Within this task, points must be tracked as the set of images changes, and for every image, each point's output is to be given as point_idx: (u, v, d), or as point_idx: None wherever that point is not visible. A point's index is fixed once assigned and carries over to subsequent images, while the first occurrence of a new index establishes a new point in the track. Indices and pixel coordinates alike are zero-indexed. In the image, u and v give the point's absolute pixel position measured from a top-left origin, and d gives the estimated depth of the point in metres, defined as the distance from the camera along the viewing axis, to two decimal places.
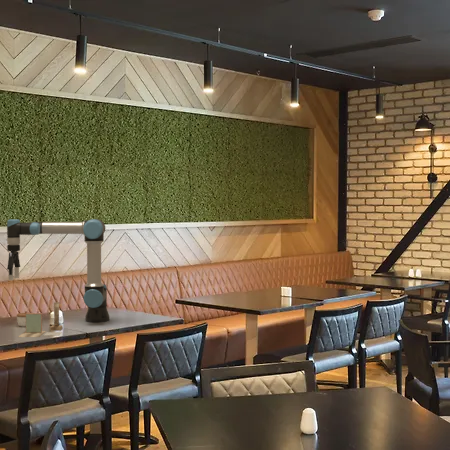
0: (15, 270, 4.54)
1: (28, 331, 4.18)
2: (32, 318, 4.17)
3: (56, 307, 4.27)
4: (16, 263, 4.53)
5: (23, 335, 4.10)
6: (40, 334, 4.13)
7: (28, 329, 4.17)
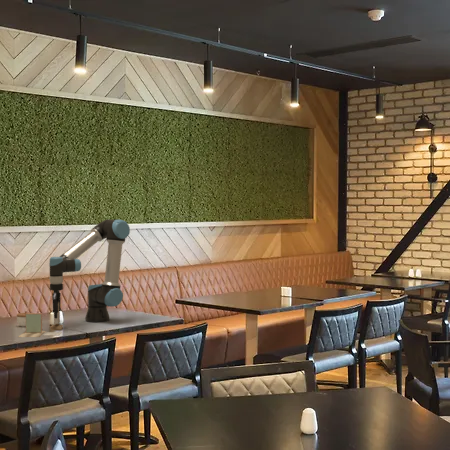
0: None
1: (28, 331, 4.18)
2: (32, 318, 4.17)
3: None
4: None
5: (23, 335, 4.10)
6: (40, 334, 4.13)
7: (28, 329, 4.17)
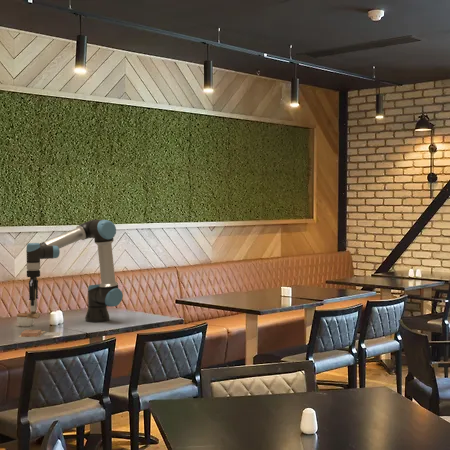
0: None
1: None
2: None
3: None
4: None
5: None
6: (40, 334, 4.13)
7: None
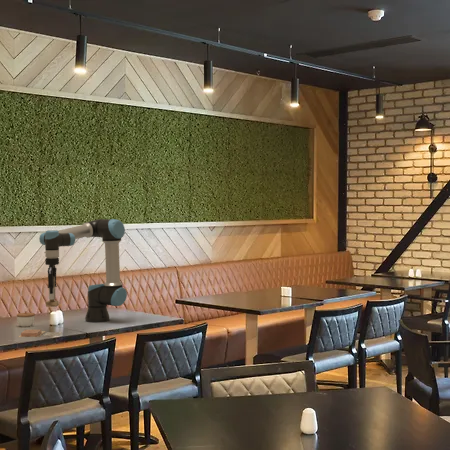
0: None
1: None
2: None
3: None
4: None
5: None
6: (40, 334, 4.13)
7: None
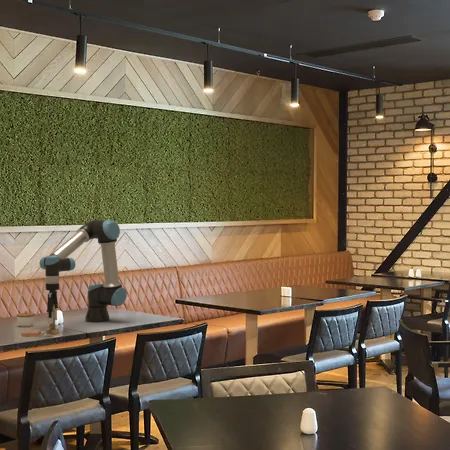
0: None
1: None
2: None
3: None
4: (54, 304, 4.18)
5: None
6: (40, 334, 4.13)
7: None
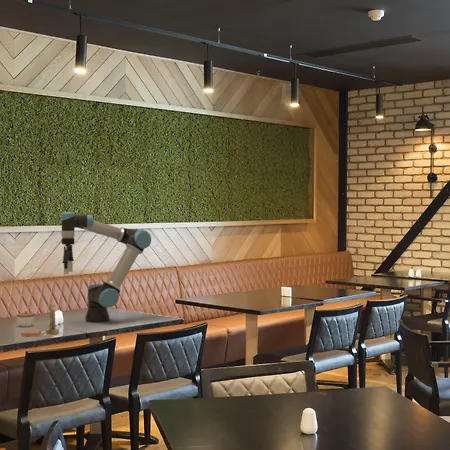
0: (69, 264, 4.45)
1: None
2: None
3: (52, 310, 4.13)
4: (70, 257, 4.43)
5: None
6: (40, 334, 4.13)
7: None
